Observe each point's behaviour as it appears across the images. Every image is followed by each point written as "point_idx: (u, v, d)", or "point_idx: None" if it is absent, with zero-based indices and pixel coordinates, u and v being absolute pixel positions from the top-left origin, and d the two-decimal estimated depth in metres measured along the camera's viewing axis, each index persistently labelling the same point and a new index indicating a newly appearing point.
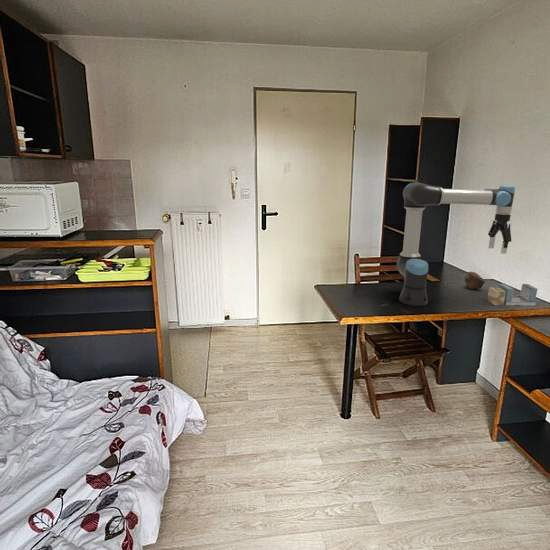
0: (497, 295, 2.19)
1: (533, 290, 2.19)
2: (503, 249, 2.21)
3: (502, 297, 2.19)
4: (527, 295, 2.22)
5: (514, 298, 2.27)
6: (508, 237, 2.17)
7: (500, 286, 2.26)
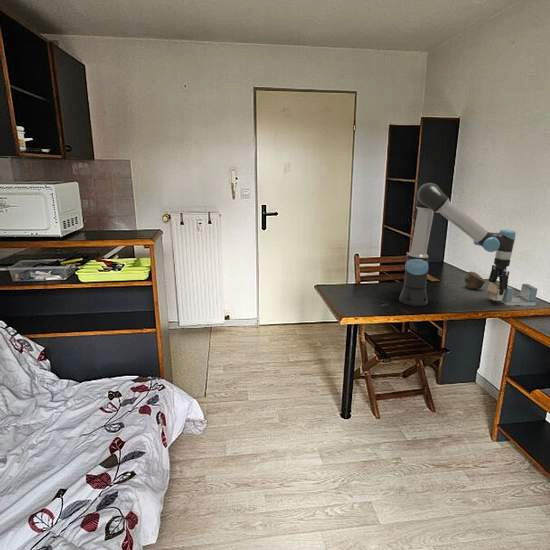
0: (497, 290, 2.18)
1: (533, 290, 2.19)
2: (498, 296, 2.19)
3: None
4: (527, 295, 2.22)
5: (514, 298, 2.27)
6: (504, 285, 2.14)
7: None
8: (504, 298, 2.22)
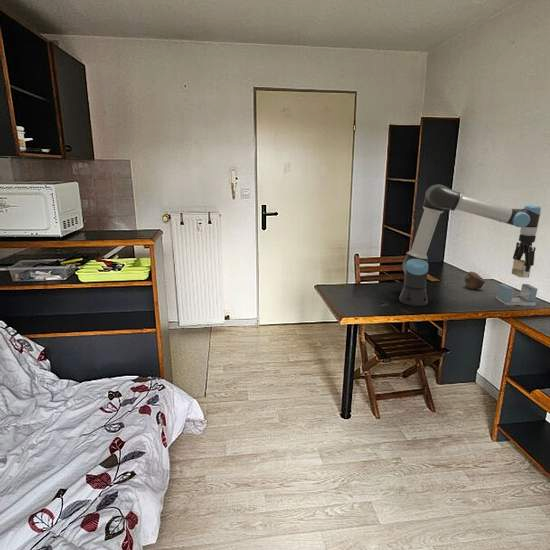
0: (523, 267, 2.16)
1: (533, 290, 2.19)
2: (525, 273, 2.16)
3: None
4: (527, 295, 2.22)
5: (514, 298, 2.27)
6: (531, 261, 2.11)
7: (500, 286, 2.26)
8: (504, 298, 2.22)
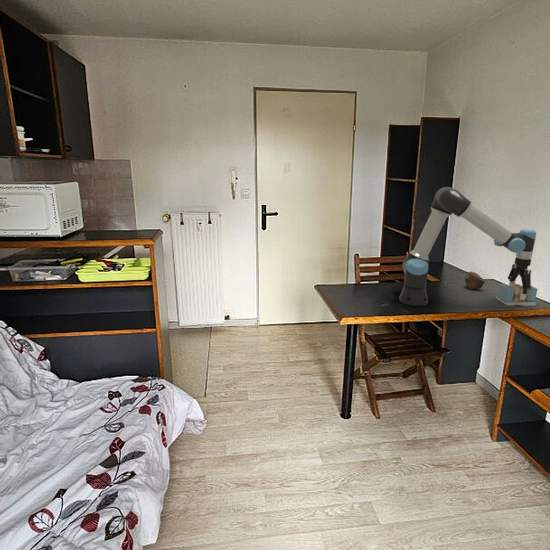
0: (518, 292, 2.20)
1: (533, 290, 2.19)
2: (522, 295, 2.18)
3: None
4: (527, 295, 2.22)
5: None
6: (528, 284, 2.14)
7: (500, 286, 2.26)
8: (504, 298, 2.22)
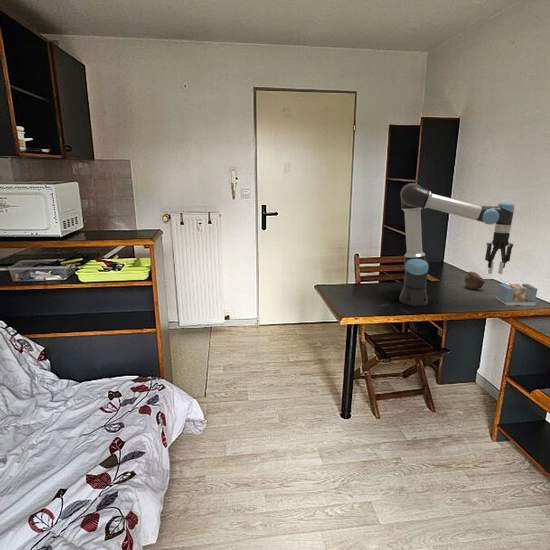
0: (518, 292, 2.20)
1: (533, 290, 2.19)
2: (489, 269, 2.21)
3: (523, 294, 2.20)
4: (527, 295, 2.22)
5: None
6: (486, 256, 2.19)
7: (500, 286, 2.26)
8: (504, 298, 2.22)
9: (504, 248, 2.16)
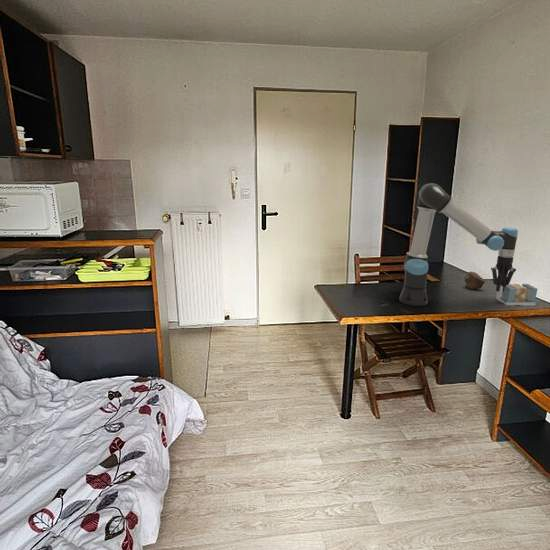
0: (518, 292, 2.20)
1: (533, 290, 2.19)
2: (497, 292, 2.25)
3: (523, 294, 2.20)
4: (527, 295, 2.22)
5: None
6: (493, 280, 2.23)
7: None
8: (506, 298, 2.22)
9: (507, 272, 2.19)
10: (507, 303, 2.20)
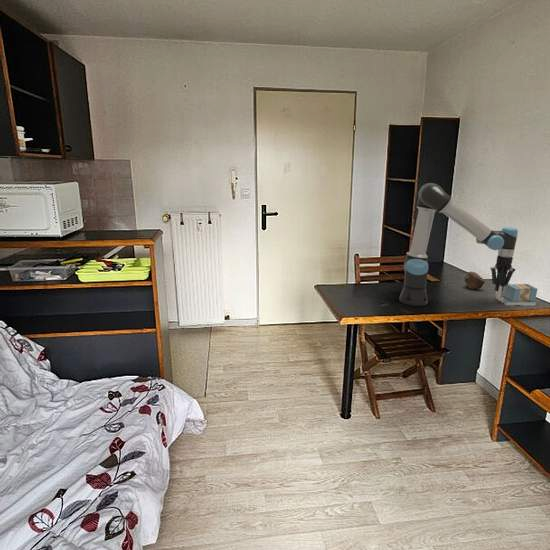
0: (522, 292, 2.20)
1: (533, 290, 2.19)
2: (496, 292, 2.25)
3: (527, 294, 2.20)
4: None
5: None
6: (493, 280, 2.23)
7: (507, 286, 2.26)
8: (511, 298, 2.22)
9: (506, 272, 2.19)
10: (507, 303, 2.20)
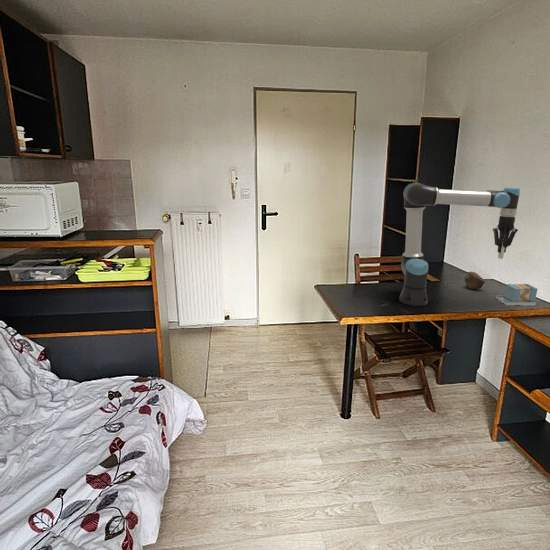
0: (522, 292, 2.20)
1: (533, 290, 2.19)
2: (499, 253, 2.23)
3: (527, 294, 2.20)
4: None
5: None
6: (495, 241, 2.21)
7: (507, 286, 2.26)
8: (511, 298, 2.22)
9: (508, 232, 2.18)
10: (507, 303, 2.20)
